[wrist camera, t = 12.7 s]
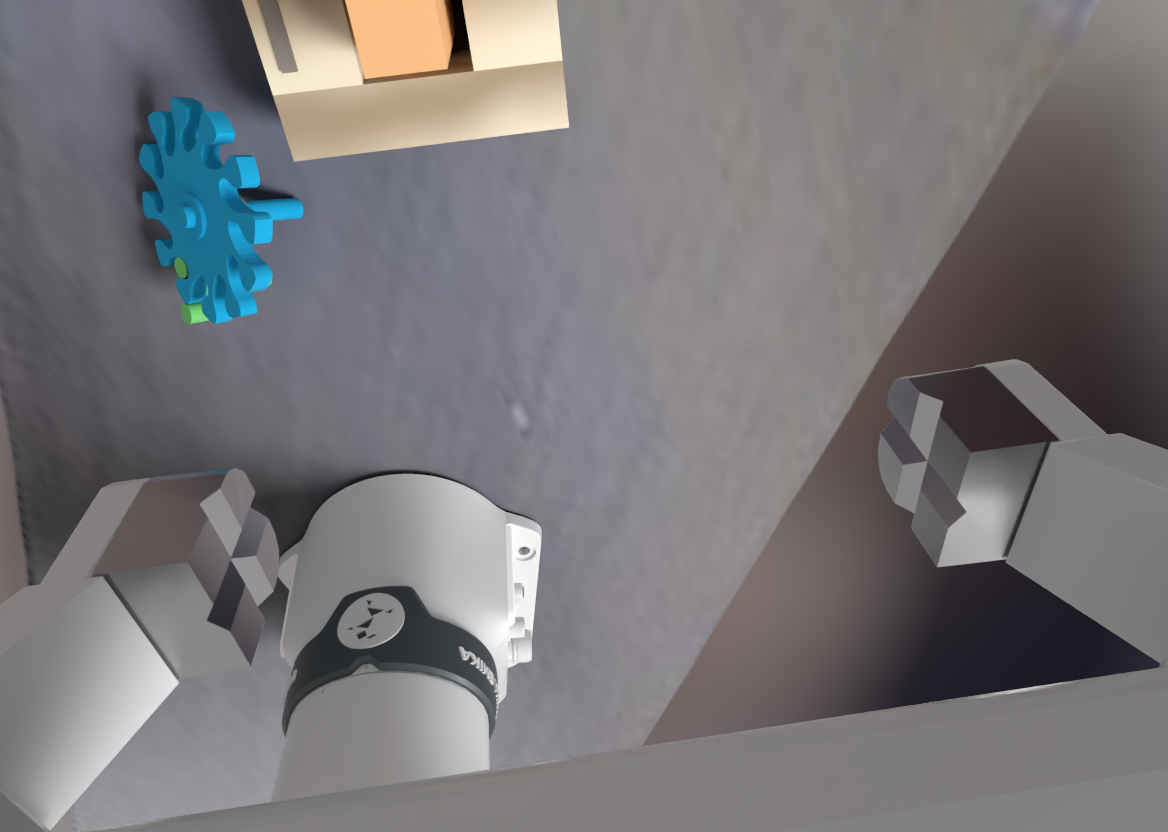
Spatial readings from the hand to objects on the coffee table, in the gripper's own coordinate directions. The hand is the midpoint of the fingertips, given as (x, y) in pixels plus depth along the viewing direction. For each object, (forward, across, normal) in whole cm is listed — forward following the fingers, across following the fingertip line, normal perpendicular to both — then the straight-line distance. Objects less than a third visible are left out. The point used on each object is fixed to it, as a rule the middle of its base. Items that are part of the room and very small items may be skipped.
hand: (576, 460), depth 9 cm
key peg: (+31, +4, -3) cm, 32 cm away
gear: (+31, +15, +6) cm, 35 cm away
